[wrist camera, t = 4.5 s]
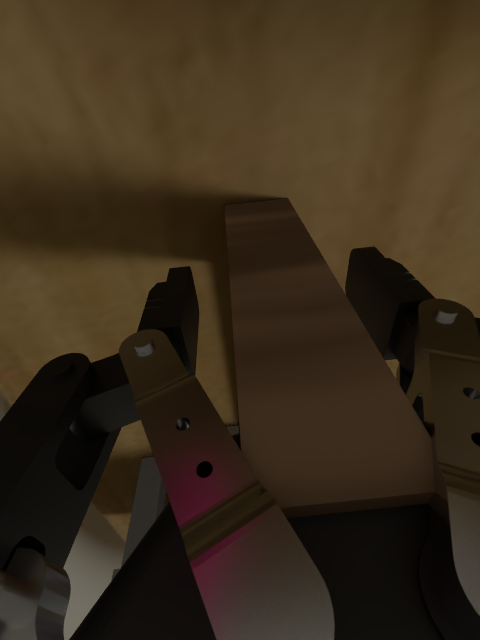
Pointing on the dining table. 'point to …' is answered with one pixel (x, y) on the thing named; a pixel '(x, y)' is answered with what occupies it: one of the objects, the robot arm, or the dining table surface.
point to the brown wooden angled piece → (314, 378)
